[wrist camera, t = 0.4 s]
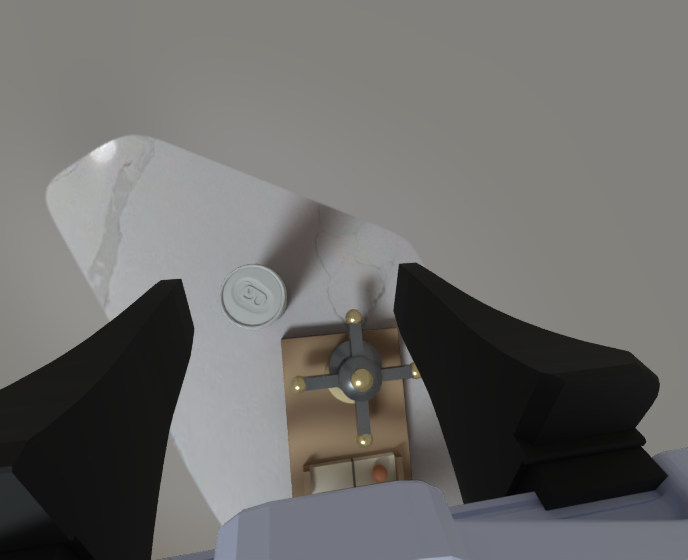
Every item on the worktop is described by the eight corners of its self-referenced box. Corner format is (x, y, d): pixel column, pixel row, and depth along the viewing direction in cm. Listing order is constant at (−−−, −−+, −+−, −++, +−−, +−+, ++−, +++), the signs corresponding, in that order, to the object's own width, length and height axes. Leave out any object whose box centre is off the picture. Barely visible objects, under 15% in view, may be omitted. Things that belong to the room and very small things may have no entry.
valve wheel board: (408, 480, 38) (420, 498, 34) (293, 499, 36) (293, 520, 32) (393, 327, 39) (404, 329, 36) (281, 338, 37) (280, 341, 34)
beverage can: (256, 269, 38) (242, 249, 26) (296, 294, 38) (299, 285, 26) (230, 308, 37) (203, 306, 25) (270, 333, 37) (262, 343, 25)
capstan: (422, 430, 37) (437, 443, 33) (295, 448, 35) (296, 465, 31) (409, 304, 38) (422, 303, 34) (285, 315, 36) (285, 315, 32)
